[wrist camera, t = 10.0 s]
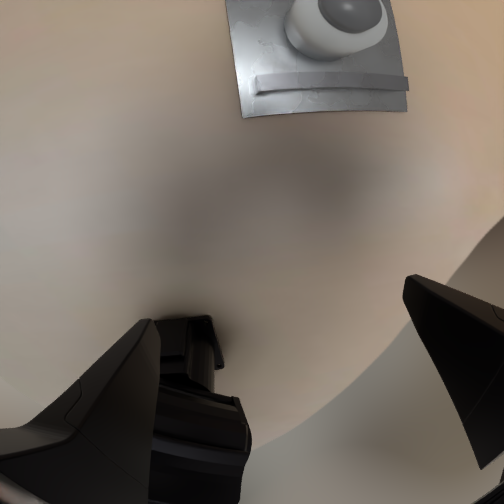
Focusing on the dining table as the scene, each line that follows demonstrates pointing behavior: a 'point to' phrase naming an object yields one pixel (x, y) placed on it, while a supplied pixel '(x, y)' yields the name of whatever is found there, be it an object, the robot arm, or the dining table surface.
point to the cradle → (309, 67)
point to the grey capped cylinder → (335, 27)
